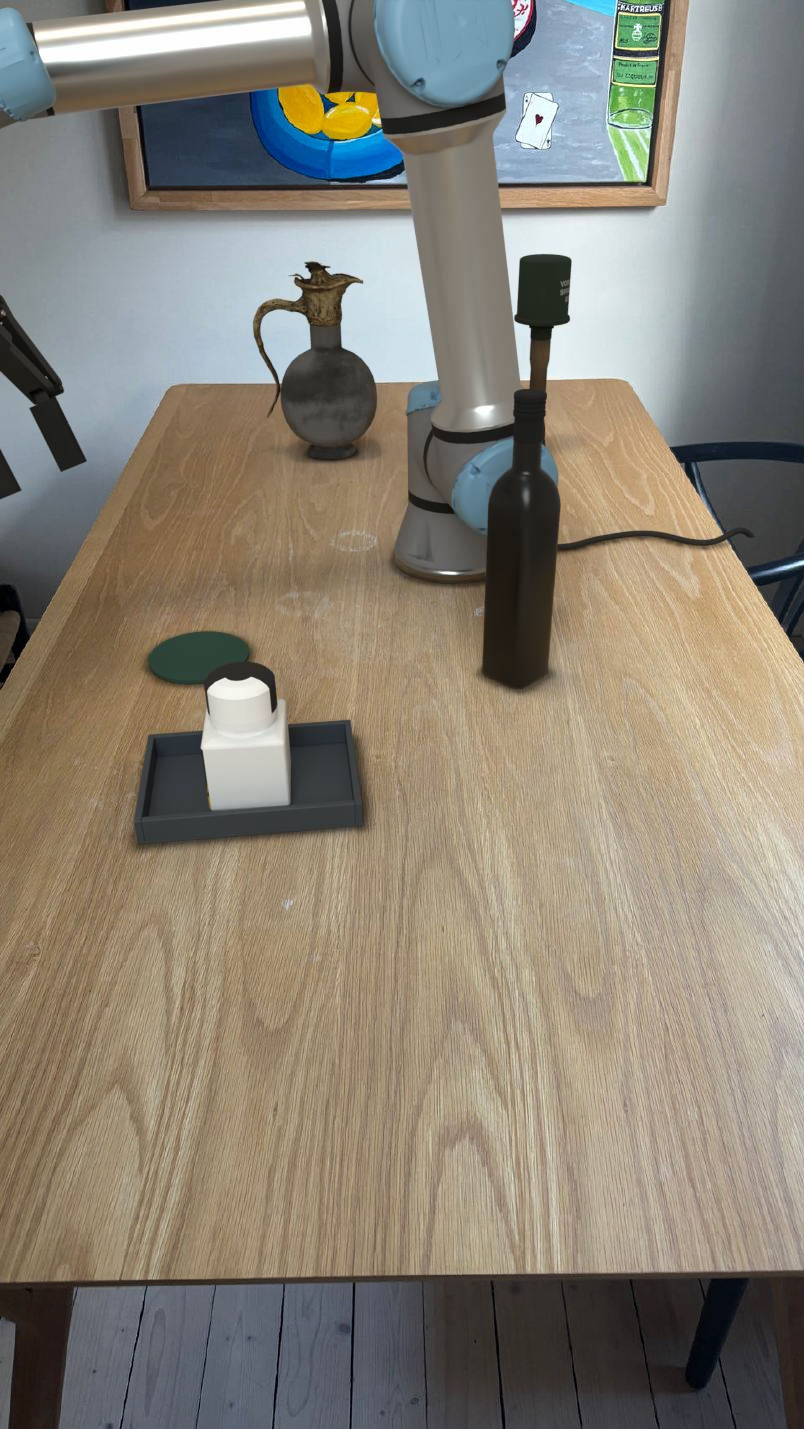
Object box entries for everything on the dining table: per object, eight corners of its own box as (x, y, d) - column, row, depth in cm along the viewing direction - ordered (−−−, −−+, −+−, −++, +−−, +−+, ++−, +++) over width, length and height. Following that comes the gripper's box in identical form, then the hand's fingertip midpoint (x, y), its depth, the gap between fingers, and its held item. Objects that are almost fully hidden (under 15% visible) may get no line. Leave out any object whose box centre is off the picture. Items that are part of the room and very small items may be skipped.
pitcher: (381, 461, 168) (376, 264, 151) (264, 467, 166) (246, 268, 150) (375, 440, 177) (370, 252, 160) (264, 446, 175) (247, 256, 159)
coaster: (249, 632, 119) (249, 628, 119) (248, 680, 110) (248, 676, 110) (153, 638, 118) (152, 634, 118) (144, 687, 109) (143, 683, 109)
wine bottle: (511, 655, 114) (526, 380, 97) (552, 673, 110) (574, 392, 94) (477, 673, 110) (486, 392, 94) (517, 693, 107) (534, 405, 91)
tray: (351, 740, 100) (350, 719, 99) (362, 825, 89) (361, 803, 88) (151, 755, 98) (148, 734, 97) (138, 844, 87) (133, 821, 86)
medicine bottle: (215, 765, 96) (199, 654, 90) (291, 761, 97) (281, 650, 90) (209, 813, 90) (192, 697, 84) (290, 808, 91) (280, 693, 84)
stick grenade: (558, 463, 166) (572, 263, 150) (504, 460, 168) (513, 262, 151) (561, 446, 173) (576, 253, 157) (510, 443, 175) (520, 252, 158)
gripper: (-36, 261, 100) (67, 468, 107) (-209, 264, 77) (-64, 526, 84) (28, 230, 98) (128, 443, 105) (-131, 224, 75) (11, 496, 82)
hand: (42, 481), depth 95 cm, fingers open, 13 cm apart
